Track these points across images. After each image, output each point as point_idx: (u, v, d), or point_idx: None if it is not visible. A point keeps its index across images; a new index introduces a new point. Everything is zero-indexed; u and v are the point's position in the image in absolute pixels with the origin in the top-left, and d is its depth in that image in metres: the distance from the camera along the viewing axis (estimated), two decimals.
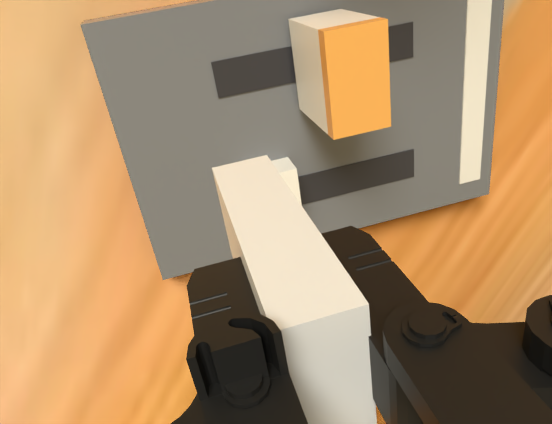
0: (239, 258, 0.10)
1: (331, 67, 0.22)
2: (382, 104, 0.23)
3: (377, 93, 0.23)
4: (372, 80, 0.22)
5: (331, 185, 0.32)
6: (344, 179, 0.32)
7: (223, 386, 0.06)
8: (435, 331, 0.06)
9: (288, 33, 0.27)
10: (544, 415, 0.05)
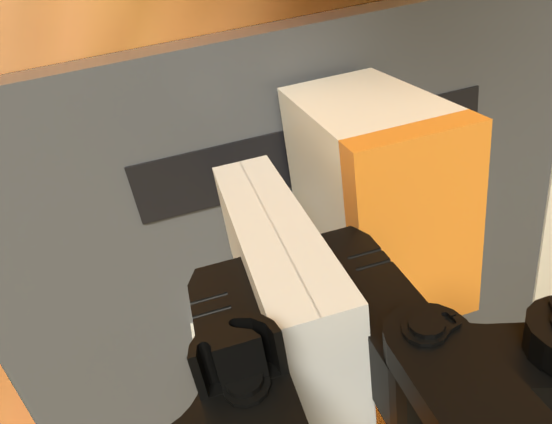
0: (239, 258, 0.10)
1: (368, 222, 0.10)
2: (466, 275, 0.11)
3: (458, 258, 0.11)
4: (450, 236, 0.11)
5: None
6: None
7: (224, 386, 0.06)
8: (435, 331, 0.06)
9: (264, 113, 0.15)
10: (544, 415, 0.05)
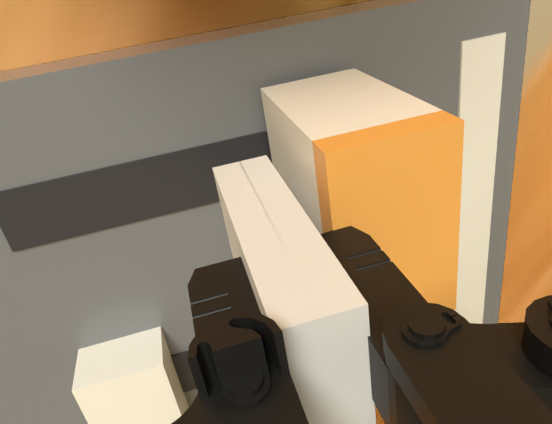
0: (239, 258, 0.10)
1: (341, 221, 0.10)
2: (441, 275, 0.12)
3: (433, 258, 0.11)
4: (425, 236, 0.11)
5: None
6: None
7: (224, 386, 0.06)
8: (434, 331, 0.06)
9: (132, 138, 0.15)
10: (543, 415, 0.05)
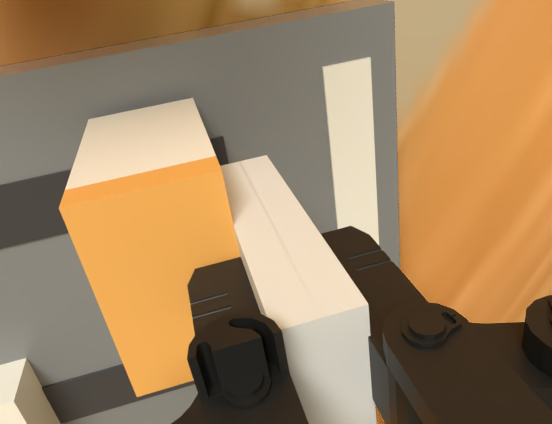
0: (239, 258, 0.10)
1: (98, 276, 0.09)
2: None
3: None
4: None
5: (123, 388, 0.19)
6: None
7: (224, 386, 0.06)
8: (435, 331, 0.06)
9: None
10: (543, 415, 0.05)
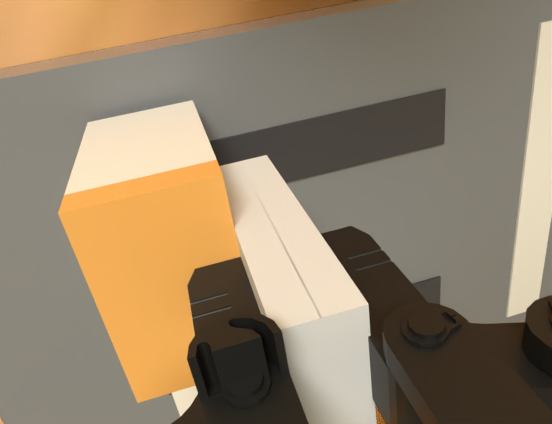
0: (239, 258, 0.10)
1: (99, 281, 0.09)
2: None
3: None
4: None
5: None
6: None
7: (224, 386, 0.06)
8: (435, 331, 0.06)
9: (227, 115, 0.15)
10: (544, 415, 0.05)
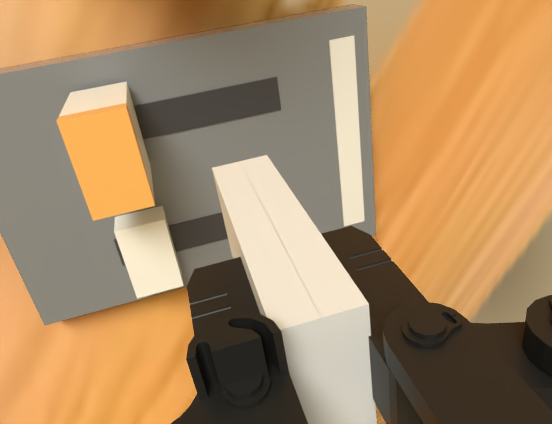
0: (239, 258, 0.10)
1: (74, 154, 0.22)
2: (140, 185, 0.23)
3: (131, 176, 0.23)
4: (123, 164, 0.22)
5: (211, 231, 0.32)
6: None
7: (223, 386, 0.06)
8: (435, 331, 0.06)
9: (149, 90, 0.27)
10: (544, 415, 0.05)
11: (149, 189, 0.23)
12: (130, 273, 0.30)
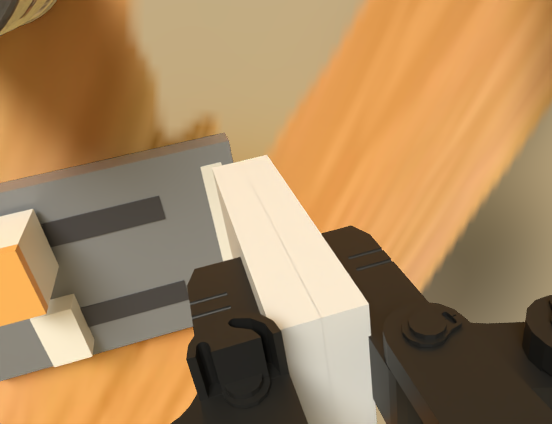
0: (239, 258, 0.10)
1: None
2: (32, 301, 0.31)
3: (25, 295, 0.30)
4: (17, 288, 0.30)
5: (117, 310, 0.40)
6: (128, 305, 0.40)
7: (223, 386, 0.06)
8: (435, 331, 0.06)
9: (54, 211, 0.35)
10: (544, 415, 0.05)
11: (40, 303, 0.31)
12: (46, 349, 0.37)
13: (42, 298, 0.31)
